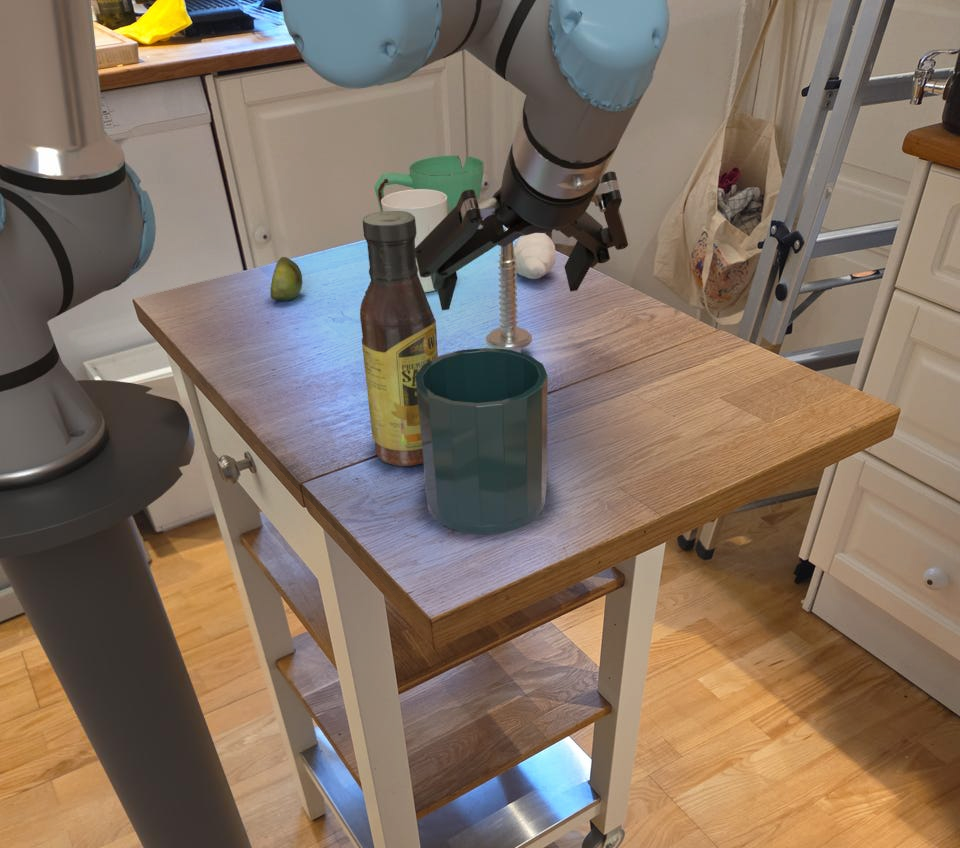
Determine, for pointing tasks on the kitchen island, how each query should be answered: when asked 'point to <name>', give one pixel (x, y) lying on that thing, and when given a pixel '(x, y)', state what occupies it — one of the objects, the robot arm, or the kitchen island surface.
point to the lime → (286, 280)
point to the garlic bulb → (534, 255)
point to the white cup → (419, 215)
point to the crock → (483, 438)
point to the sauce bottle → (395, 336)
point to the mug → (438, 177)
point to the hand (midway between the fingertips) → (507, 287)
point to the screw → (508, 307)
